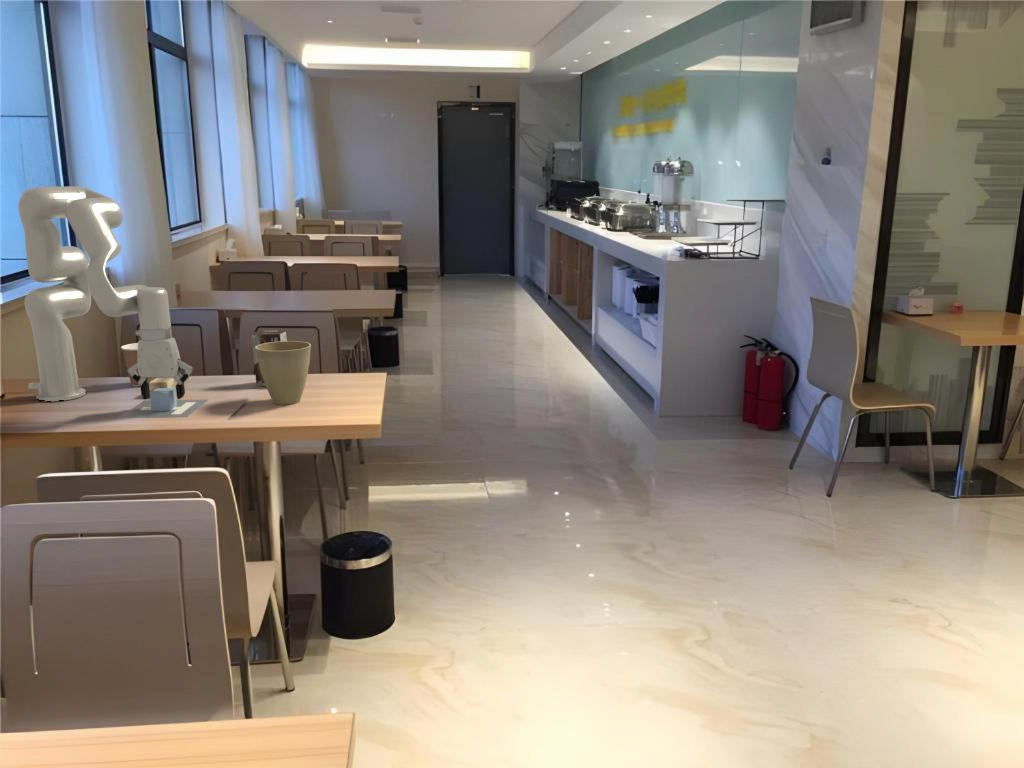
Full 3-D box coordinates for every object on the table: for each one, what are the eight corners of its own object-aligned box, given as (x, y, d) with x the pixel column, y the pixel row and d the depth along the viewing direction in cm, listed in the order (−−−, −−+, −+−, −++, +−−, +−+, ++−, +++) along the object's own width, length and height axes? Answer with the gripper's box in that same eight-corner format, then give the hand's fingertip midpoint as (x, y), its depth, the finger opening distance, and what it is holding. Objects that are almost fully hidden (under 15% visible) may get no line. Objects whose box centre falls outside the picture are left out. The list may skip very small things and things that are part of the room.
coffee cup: (139, 379, 261) (135, 341, 258) (169, 380, 259) (165, 342, 256) (118, 387, 251) (113, 348, 248) (148, 388, 249) (144, 349, 246)
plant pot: (305, 408, 226) (301, 351, 222) (251, 408, 227) (246, 350, 223) (321, 394, 240) (317, 340, 237) (270, 394, 241) (266, 340, 237)
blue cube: (151, 411, 222) (149, 393, 221) (158, 406, 227) (156, 388, 226) (170, 410, 223) (168, 392, 221) (177, 405, 227) (175, 388, 226)
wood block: (151, 399, 237) (149, 382, 236) (158, 395, 242) (156, 378, 241) (168, 399, 237) (166, 382, 236) (175, 394, 242) (173, 378, 241)
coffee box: (292, 381, 256) (288, 329, 253) (284, 386, 250) (280, 333, 246) (263, 381, 257) (259, 329, 253) (255, 386, 251) (250, 333, 247)
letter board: (117, 420, 216) (116, 418, 216) (144, 402, 234) (144, 400, 233) (187, 419, 217) (186, 417, 216) (209, 401, 234) (209, 399, 234)
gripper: (117, 337, 216) (125, 402, 220) (184, 336, 217) (191, 401, 221) (129, 332, 223) (136, 395, 228) (194, 331, 224) (200, 394, 228)
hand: (163, 397), depth 224 cm, fingers open, 8 cm apart
